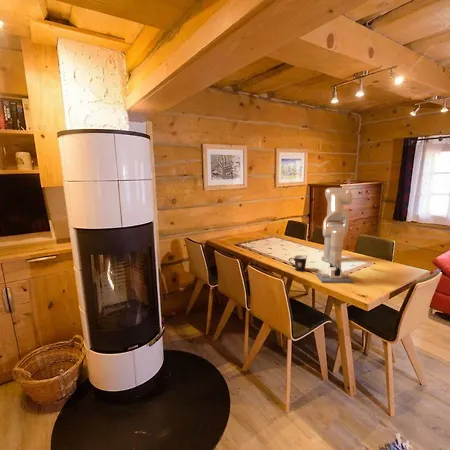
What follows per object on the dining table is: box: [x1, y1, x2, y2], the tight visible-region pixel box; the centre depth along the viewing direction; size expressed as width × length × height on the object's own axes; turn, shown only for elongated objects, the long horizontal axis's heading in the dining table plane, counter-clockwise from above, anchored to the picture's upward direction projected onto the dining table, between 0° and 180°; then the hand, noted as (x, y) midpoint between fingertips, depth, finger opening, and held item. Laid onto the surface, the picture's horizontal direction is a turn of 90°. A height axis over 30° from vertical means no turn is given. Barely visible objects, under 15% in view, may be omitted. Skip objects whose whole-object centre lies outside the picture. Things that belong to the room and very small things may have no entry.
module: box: [327, 266, 343, 278], centre depth 181 cm, size 6×7×6 cm
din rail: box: [319, 273, 350, 278], centre depth 182 cm, size 2×18×2 cm, turn 88°
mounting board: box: [316, 273, 354, 284], centre depth 182 cm, size 12×20×2 cm, turn 88°
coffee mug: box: [288, 254, 307, 273], centre depth 200 cm, size 12×9×10 cm
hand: (334, 273), depth 181 cm, fingers open, 9 cm apart
